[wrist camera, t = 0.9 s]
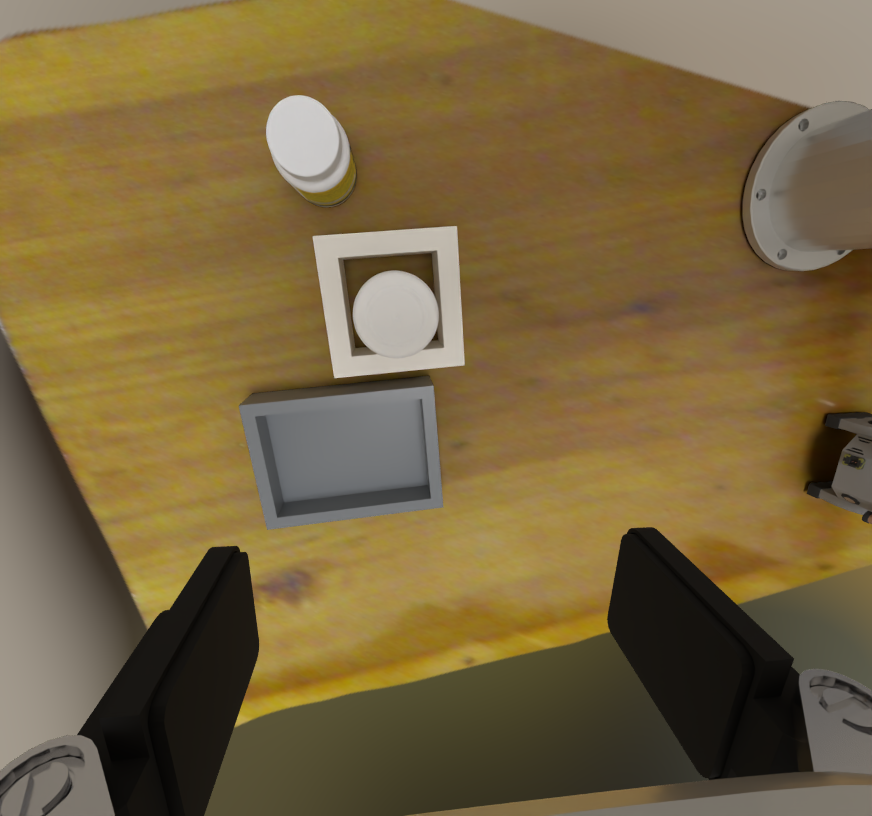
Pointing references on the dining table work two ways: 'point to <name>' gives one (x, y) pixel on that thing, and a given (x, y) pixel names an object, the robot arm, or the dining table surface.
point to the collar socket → (382, 245)
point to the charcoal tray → (344, 450)
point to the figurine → (851, 467)
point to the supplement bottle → (311, 150)
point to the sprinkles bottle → (395, 314)
